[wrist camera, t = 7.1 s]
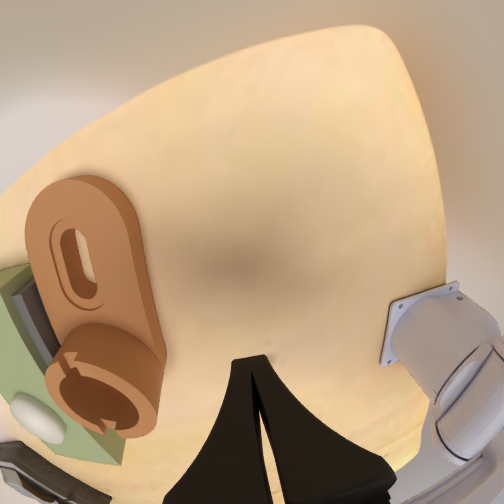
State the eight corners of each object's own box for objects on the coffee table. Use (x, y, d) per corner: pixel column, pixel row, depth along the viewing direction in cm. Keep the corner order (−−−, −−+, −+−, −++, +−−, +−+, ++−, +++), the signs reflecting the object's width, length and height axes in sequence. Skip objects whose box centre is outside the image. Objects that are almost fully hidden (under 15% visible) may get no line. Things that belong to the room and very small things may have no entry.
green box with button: (42, 259, 17) (-5, 299, 10) (135, 433, 24) (129, 478, 18) (-25, 276, 16) (-63, 307, 10) (65, 426, 23) (52, 463, 17)
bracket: (175, 378, 22) (170, 441, 16) (96, 377, 21) (76, 431, 15) (133, 166, 16) (88, 174, 9) (36, 186, 15) (-24, 206, 9)
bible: (34, 440, 26) (19, 481, 16) (123, 501, 35) (120, 534, 26) (-13, 432, 25) (-26, 460, 16) (62, 490, 35) (57, 516, 26)
